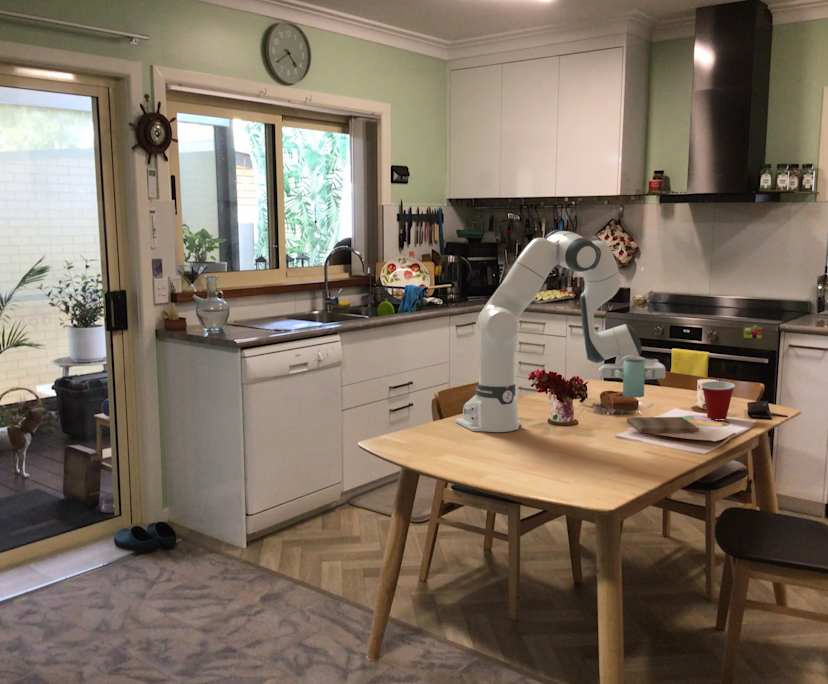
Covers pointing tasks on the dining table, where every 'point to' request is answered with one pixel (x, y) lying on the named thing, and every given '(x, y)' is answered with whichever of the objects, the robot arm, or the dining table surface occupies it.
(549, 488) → the dining table surface
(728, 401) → the plastic cup
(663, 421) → the board
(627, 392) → the green tin
